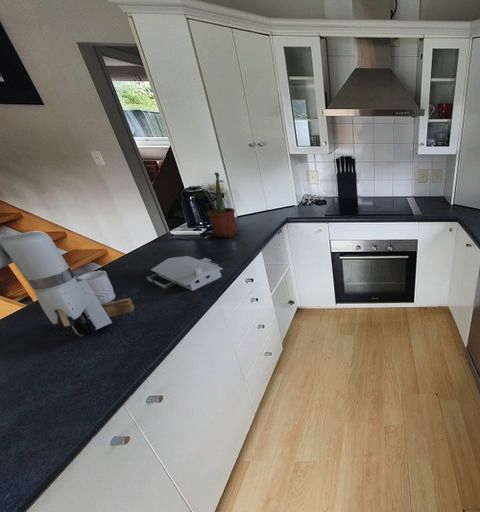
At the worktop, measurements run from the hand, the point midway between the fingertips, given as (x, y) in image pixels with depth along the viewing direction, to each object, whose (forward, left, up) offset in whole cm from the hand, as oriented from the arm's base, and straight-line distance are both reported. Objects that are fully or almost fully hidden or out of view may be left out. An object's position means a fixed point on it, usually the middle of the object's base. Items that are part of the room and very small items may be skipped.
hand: (88, 332), depth 79 cm
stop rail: (-1, +13, -3) cm, 14 cm away
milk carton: (-1, +5, -2) cm, 5 cm away
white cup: (-4, +25, -3) cm, 26 cm away
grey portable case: (+23, +32, -3) cm, 40 cm away
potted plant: (+35, +71, -3) cm, 79 cm away
